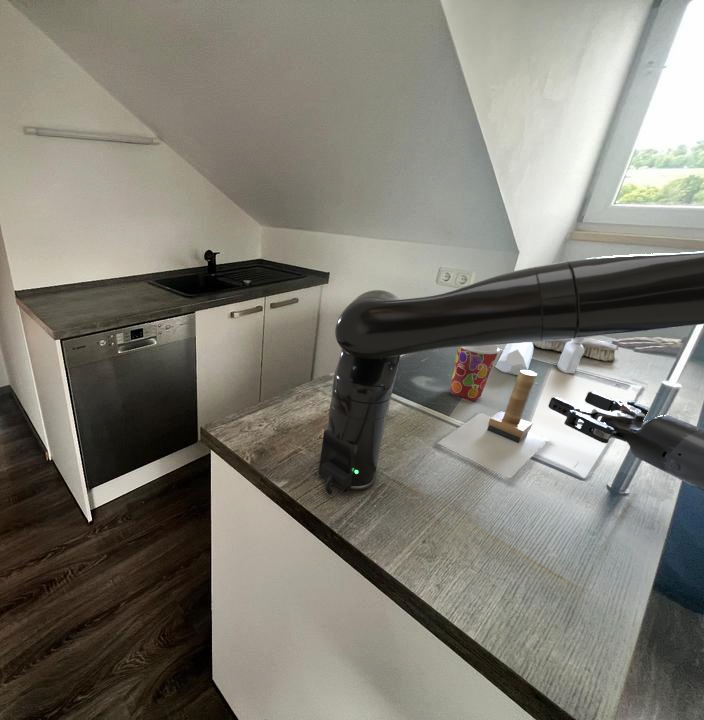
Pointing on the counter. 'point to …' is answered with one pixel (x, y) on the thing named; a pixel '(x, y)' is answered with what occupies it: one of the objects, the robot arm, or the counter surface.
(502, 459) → the tile
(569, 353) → the eye dropper bottle
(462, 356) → the smoothie
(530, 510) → the counter surface
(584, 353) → the shoe brush
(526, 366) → the crystal
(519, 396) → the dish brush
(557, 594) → the counter surface
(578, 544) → the counter surface
